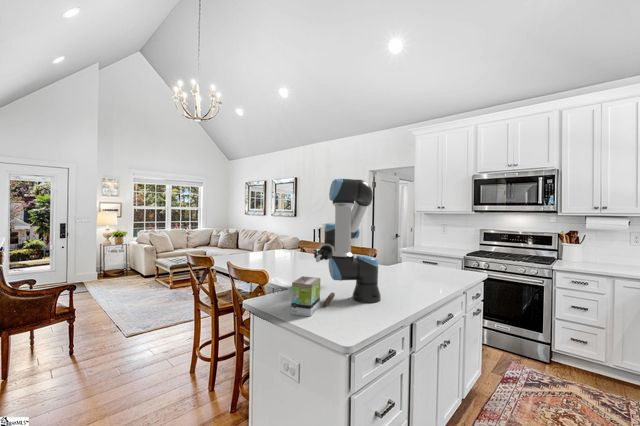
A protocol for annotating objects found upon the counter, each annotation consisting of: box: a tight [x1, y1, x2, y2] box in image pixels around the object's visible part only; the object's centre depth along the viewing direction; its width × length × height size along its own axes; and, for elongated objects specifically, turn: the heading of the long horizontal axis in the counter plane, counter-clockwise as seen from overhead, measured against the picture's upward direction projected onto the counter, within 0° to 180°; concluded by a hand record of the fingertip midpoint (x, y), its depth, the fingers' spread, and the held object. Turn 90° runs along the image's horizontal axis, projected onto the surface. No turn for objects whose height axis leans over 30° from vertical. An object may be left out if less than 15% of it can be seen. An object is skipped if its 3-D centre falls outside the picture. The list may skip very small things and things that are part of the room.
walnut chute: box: [322, 292, 336, 309], centre depth 162 cm, size 17×20×2 cm
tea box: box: [290, 275, 321, 317], centre depth 146 cm, size 15×10×15 cm, turn 165°
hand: (317, 259), depth 163 cm, fingers closed
